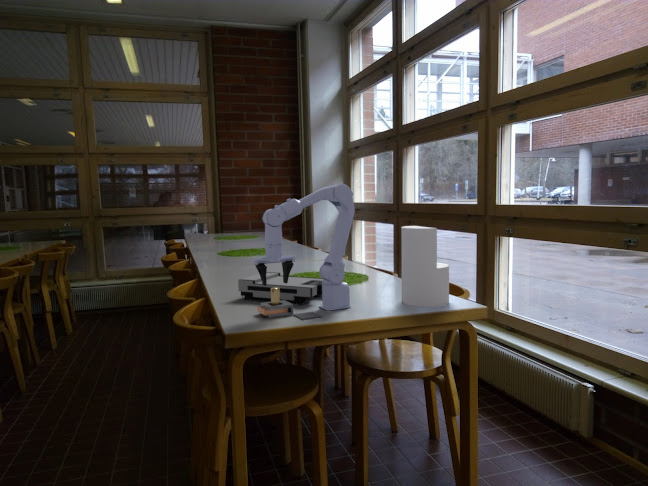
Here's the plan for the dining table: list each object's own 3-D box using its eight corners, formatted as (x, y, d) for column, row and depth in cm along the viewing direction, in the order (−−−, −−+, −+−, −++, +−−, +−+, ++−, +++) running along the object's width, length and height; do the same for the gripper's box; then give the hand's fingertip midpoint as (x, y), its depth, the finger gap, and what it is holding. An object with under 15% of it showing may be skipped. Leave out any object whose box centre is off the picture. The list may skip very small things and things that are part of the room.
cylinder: (414, 308, 161) (414, 229, 159) (394, 298, 178) (393, 226, 175) (458, 304, 166) (458, 227, 163) (434, 295, 183) (434, 225, 180)
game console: (310, 307, 168) (310, 284, 168) (238, 300, 182) (238, 279, 181) (334, 295, 187) (333, 275, 186) (267, 290, 201) (266, 272, 200)
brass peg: (278, 312, 160) (277, 287, 159) (281, 314, 157) (280, 288, 156) (270, 313, 158) (269, 288, 157) (273, 315, 156) (272, 289, 155)
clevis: (284, 309, 163) (284, 299, 163) (293, 314, 156) (293, 304, 156) (256, 313, 159) (256, 303, 158) (264, 318, 152) (264, 308, 151)
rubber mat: (312, 312, 158) (312, 311, 158) (321, 317, 152) (321, 315, 152) (293, 315, 155) (293, 314, 155) (302, 320, 149) (302, 318, 149)
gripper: (257, 246, 149) (258, 288, 150) (298, 244, 155) (299, 283, 157) (250, 245, 155) (251, 284, 156) (290, 242, 162) (291, 280, 163)
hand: (275, 284), depth 157 cm, fingers open, 7 cm apart
